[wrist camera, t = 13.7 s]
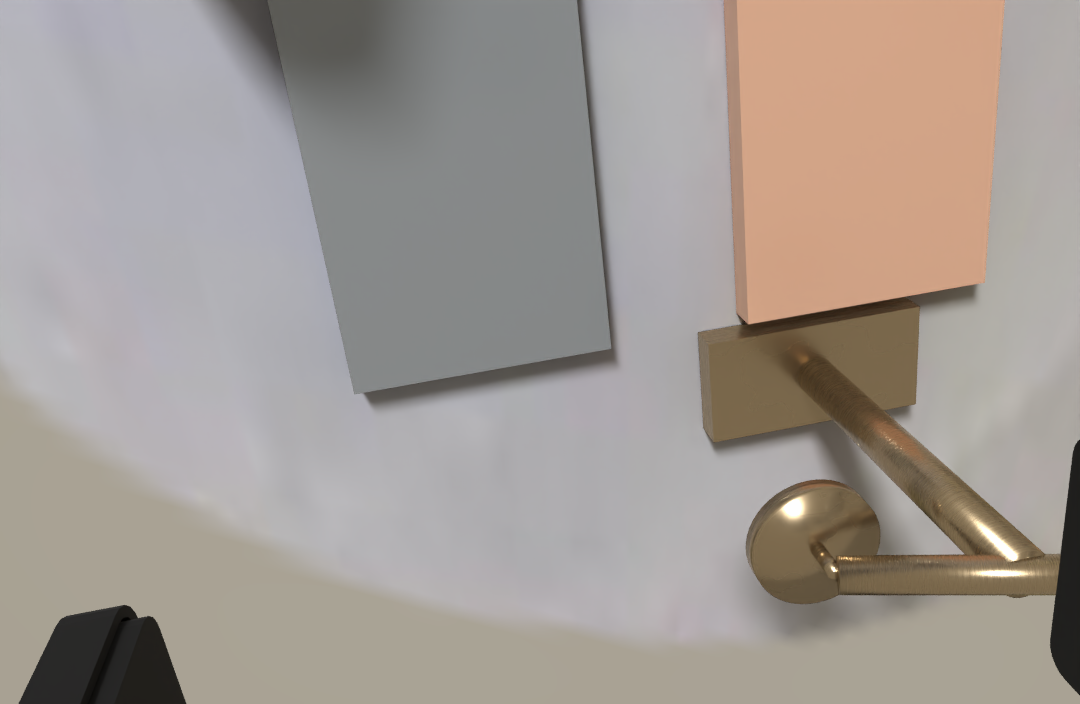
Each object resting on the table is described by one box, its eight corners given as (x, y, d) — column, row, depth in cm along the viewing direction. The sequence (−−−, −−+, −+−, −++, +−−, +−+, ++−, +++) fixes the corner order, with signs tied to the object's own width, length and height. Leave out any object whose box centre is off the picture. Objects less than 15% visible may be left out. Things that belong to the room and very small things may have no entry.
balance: (955, 286, 36) (1328, 499, 22) (949, 381, 38) (1295, 637, 24) (642, 342, 35) (825, 605, 21) (650, 437, 36) (825, 742, 22)
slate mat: (560, -87, 29) (568, -89, 28) (603, 336, 35) (611, 348, 33) (260, -48, 28) (256, -48, 27) (354, 380, 34) (354, 394, 33)
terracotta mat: (991, -143, 30) (1015, -147, 29) (965, 272, 36) (984, 282, 35) (719, -108, 29) (732, -111, 28) (736, 312, 35) (748, 324, 34)
